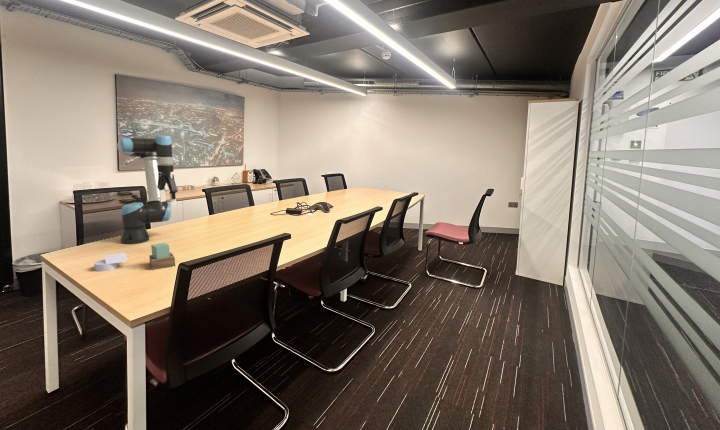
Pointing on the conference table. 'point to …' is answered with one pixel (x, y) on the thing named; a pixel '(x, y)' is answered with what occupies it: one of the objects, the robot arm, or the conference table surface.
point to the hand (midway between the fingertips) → (168, 203)
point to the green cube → (160, 250)
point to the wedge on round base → (110, 262)
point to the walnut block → (162, 262)
